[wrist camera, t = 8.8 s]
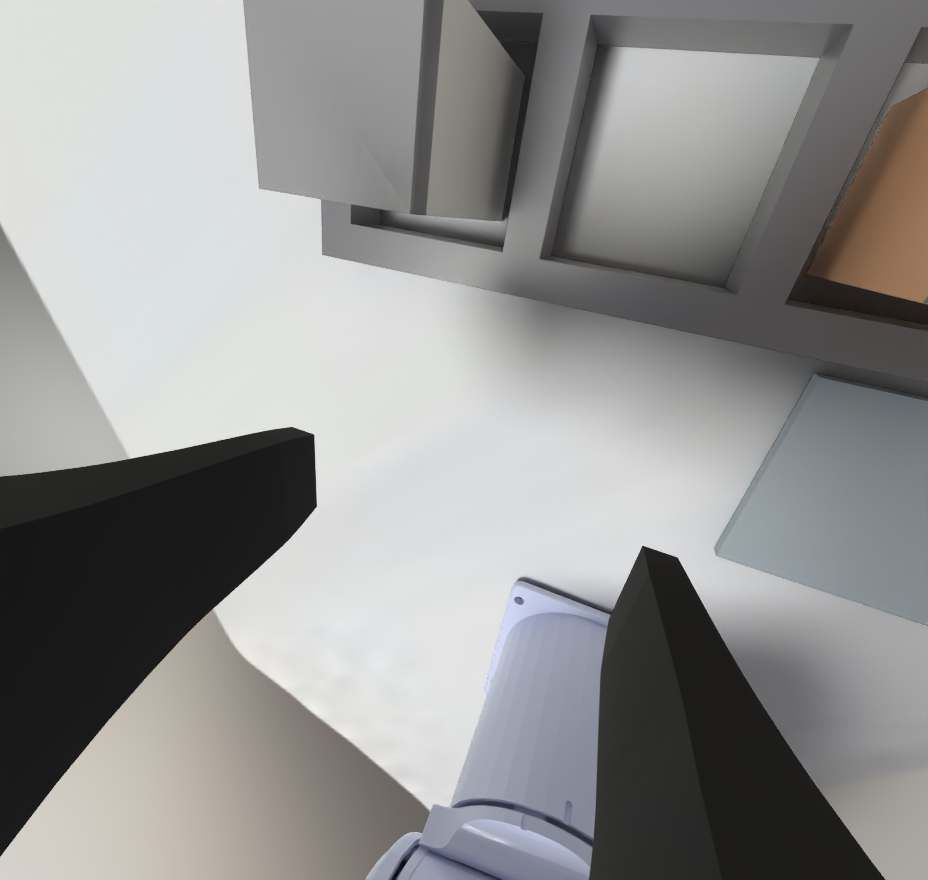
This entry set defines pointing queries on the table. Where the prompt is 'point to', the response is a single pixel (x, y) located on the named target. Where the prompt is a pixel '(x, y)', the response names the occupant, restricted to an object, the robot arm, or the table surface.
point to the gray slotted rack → (778, 214)
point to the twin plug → (383, 104)
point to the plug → (885, 212)
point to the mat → (843, 499)
